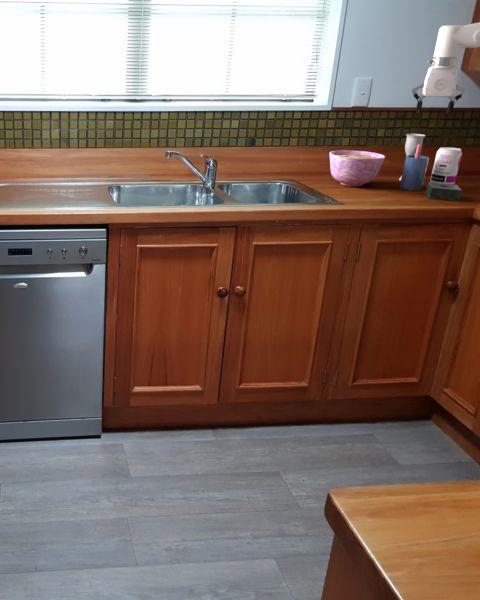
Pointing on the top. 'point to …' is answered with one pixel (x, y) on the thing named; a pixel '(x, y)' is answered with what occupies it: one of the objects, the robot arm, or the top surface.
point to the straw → (418, 151)
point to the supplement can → (446, 165)
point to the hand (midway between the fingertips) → (433, 113)
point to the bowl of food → (355, 166)
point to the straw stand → (443, 192)
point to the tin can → (414, 172)
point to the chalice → (412, 143)
